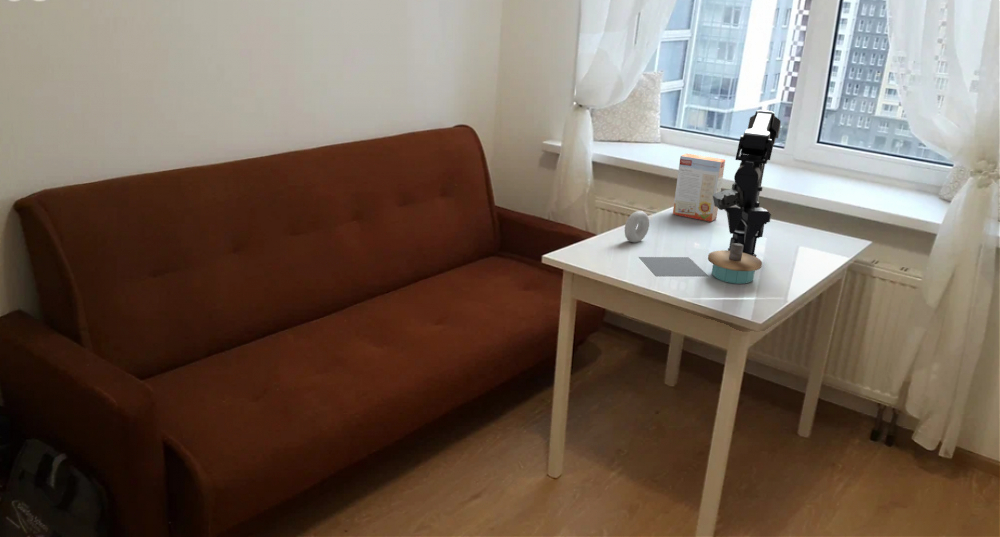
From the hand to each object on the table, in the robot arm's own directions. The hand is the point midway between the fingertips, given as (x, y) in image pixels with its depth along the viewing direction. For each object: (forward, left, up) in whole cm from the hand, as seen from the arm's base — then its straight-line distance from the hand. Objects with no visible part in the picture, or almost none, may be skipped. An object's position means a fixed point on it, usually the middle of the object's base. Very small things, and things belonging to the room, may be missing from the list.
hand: (738, 238), depth 202 cm
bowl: (0, 0, -12) cm, 12 cm away
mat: (+14, -8, -12) cm, 20 cm away
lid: (0, 0, -7) cm, 7 cm away
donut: (+18, -30, -12) cm, 37 cm away
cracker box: (-12, -58, -12) cm, 61 cm away
